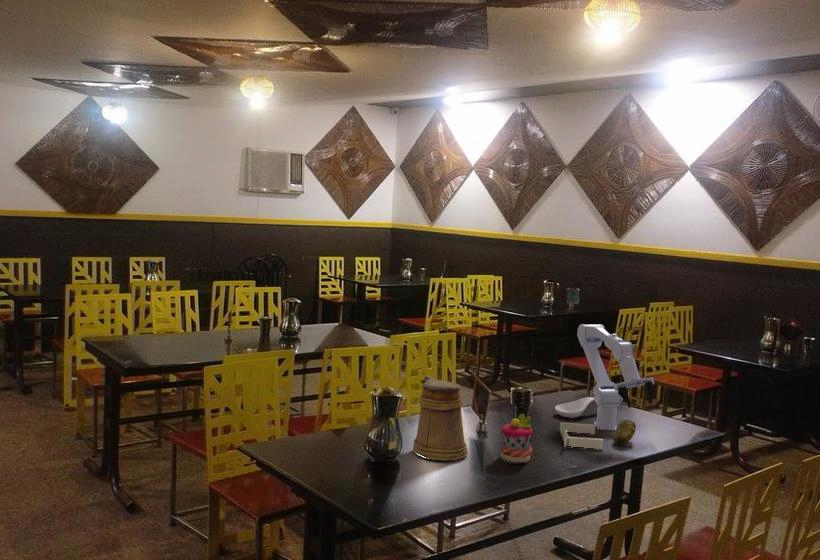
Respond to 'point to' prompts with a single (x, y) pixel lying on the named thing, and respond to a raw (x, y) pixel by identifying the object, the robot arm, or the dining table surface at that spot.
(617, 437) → the potato
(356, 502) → the dining table surface
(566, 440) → the flag
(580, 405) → the spoon rest
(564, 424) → the corral
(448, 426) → the tankard
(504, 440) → the cake
